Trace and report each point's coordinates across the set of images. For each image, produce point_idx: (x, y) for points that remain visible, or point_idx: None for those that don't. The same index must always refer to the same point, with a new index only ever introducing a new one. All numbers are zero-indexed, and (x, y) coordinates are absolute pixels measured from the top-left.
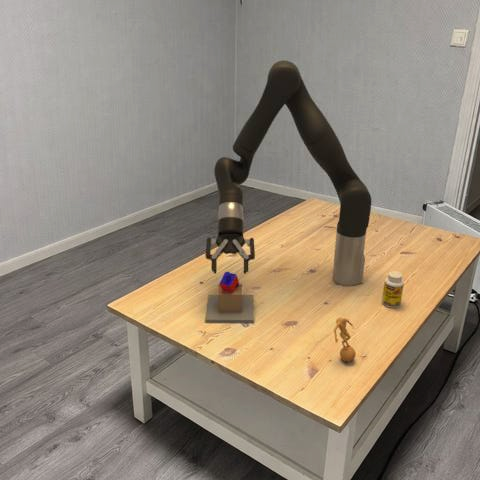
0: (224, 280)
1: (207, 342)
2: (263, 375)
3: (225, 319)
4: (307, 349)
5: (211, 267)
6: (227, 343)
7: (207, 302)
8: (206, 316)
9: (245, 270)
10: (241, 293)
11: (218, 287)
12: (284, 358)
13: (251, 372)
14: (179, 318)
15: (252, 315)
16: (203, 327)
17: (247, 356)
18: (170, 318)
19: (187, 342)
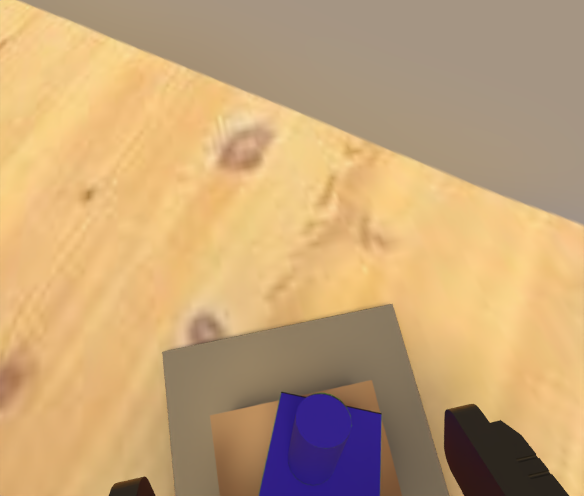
0: (349, 442)
1: (334, 182)
2: (115, 70)
3: (300, 326)
4: None
5: (527, 444)
6: (258, 191)
7: (442, 474)
8: (396, 331)
9: (116, 492)
10: (215, 430)
11: (398, 484)
12: (43, 154)
13: (153, 75)
14: (516, 315)
15: (174, 392)
16: (383, 271)
17: (174, 139)
18: (555, 306)
19: (407, 167)
